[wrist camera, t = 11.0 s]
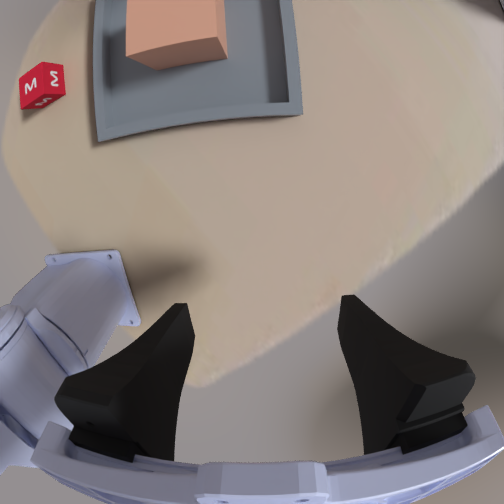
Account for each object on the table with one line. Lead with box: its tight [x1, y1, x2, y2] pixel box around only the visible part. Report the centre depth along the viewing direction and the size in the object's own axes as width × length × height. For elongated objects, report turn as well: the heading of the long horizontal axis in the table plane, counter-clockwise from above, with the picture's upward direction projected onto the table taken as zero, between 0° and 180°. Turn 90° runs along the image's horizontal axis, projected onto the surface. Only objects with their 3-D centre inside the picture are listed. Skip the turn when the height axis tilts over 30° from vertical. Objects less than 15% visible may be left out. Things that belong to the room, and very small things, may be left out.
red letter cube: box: [19, 62, 66, 109], centre depth 14 cm, size 3×3×3 cm
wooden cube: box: [126, 0, 228, 70], centre depth 12 cm, size 5×5×5 cm
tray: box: [93, 0, 303, 142], centre depth 14 cm, size 14×14×2 cm
